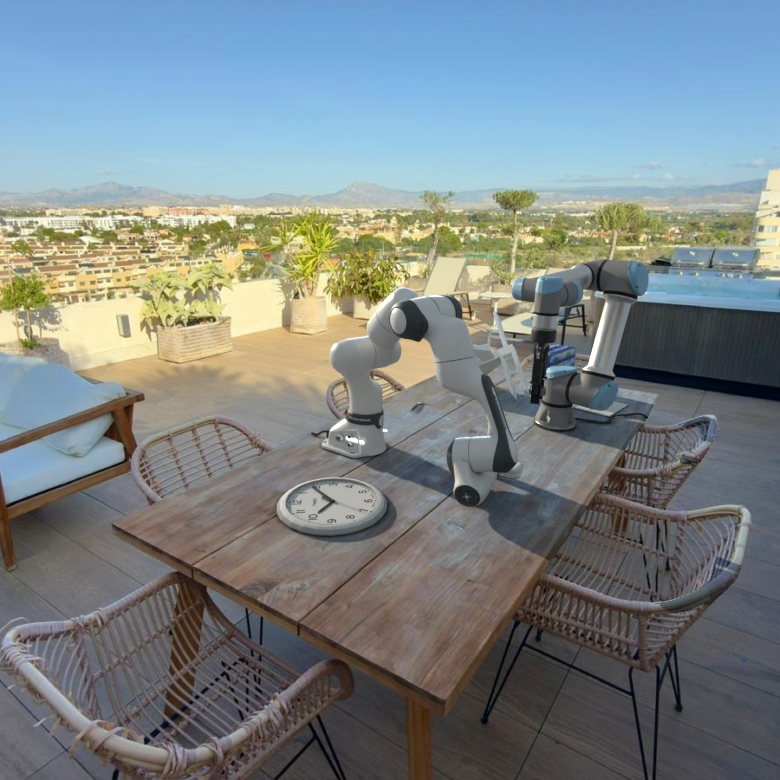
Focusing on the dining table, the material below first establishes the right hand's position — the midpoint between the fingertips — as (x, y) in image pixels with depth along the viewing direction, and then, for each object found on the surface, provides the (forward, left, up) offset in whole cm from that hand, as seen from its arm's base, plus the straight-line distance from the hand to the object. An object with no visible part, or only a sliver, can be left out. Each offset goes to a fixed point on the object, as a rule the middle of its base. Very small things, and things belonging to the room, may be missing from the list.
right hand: (536, 401), depth 166 cm
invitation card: (-38, -62, -21) cm, 76 cm away
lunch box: (-21, -85, -21) cm, 90 cm away
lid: (0, 0, +4) cm, 4 cm away
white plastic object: (+13, -74, -21) cm, 78 cm away
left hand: (+13, +10, -15) cm, 22 cm away
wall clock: (+58, +37, -21) cm, 72 cm away
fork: (+41, -49, -21) cm, 67 cm away
